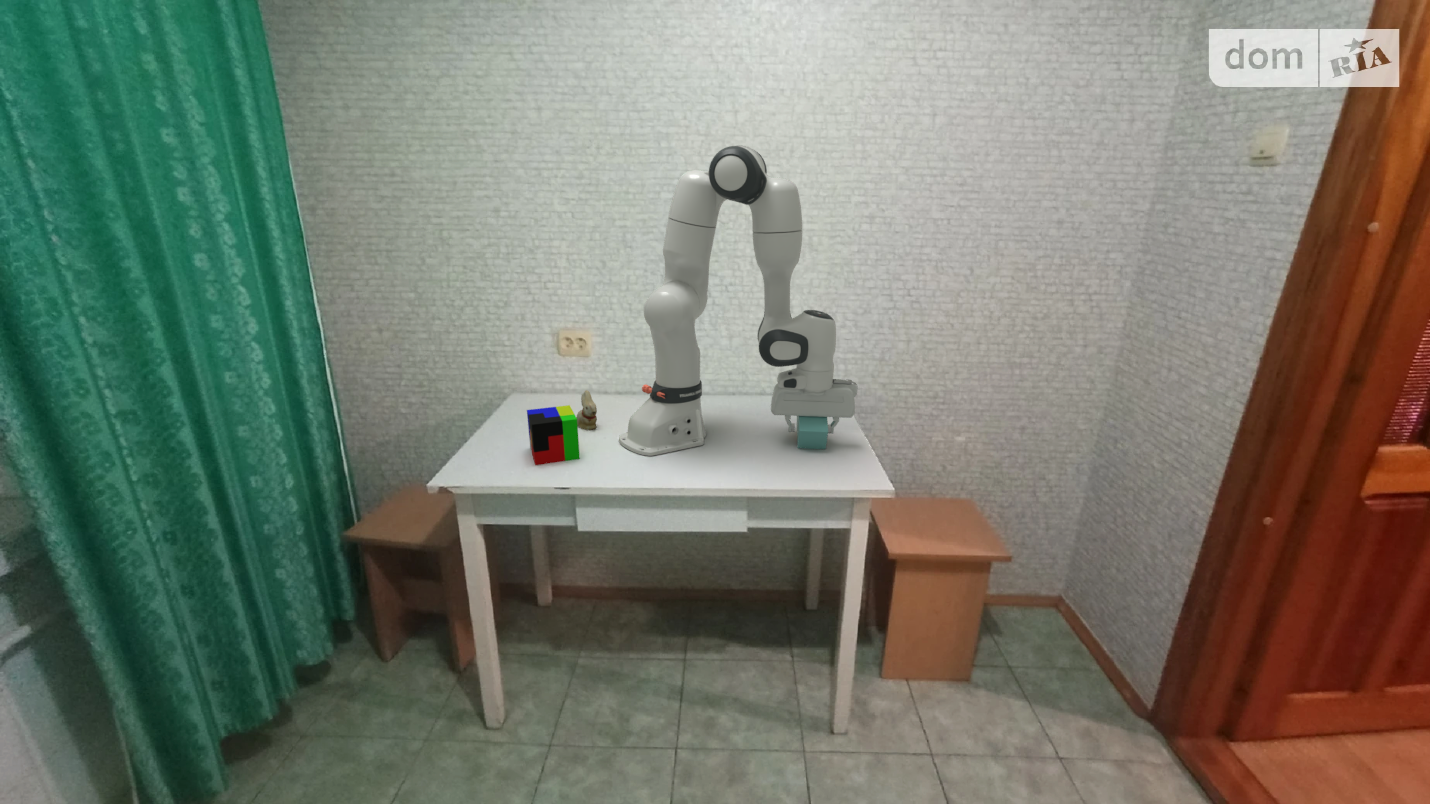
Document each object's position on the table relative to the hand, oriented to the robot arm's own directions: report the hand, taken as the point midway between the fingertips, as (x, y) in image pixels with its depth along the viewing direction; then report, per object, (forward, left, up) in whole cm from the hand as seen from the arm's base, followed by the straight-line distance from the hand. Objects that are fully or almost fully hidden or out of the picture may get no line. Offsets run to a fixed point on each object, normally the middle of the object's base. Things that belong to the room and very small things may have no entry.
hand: (810, 432), depth 155 cm
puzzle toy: (-52, +35, -4) cm, 62 cm away
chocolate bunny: (-37, +46, -4) cm, 58 cm away
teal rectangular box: (+1, +1, -1) cm, 2 cm away
